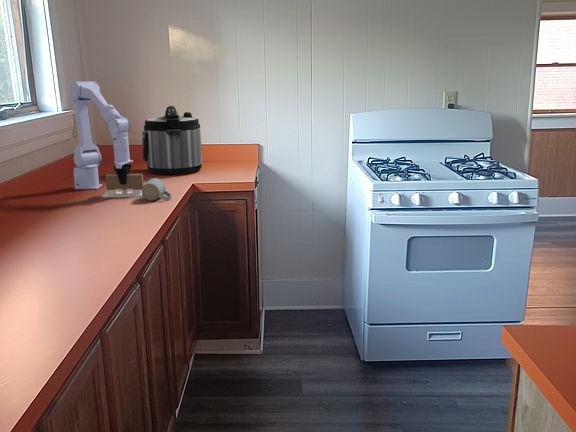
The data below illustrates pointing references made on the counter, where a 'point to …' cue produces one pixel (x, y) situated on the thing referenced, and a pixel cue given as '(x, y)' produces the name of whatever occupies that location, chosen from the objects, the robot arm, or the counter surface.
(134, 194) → the display stand
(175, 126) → the pressure cooker
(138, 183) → the frame bar
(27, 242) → the counter surface
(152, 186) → the ceramic mug
